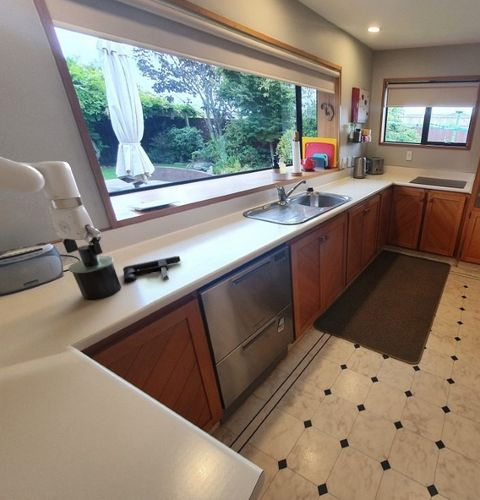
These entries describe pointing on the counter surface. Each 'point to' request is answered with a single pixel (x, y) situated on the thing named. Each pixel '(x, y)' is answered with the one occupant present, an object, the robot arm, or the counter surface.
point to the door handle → (149, 268)
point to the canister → (98, 283)
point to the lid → (89, 261)
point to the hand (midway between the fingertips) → (85, 253)
